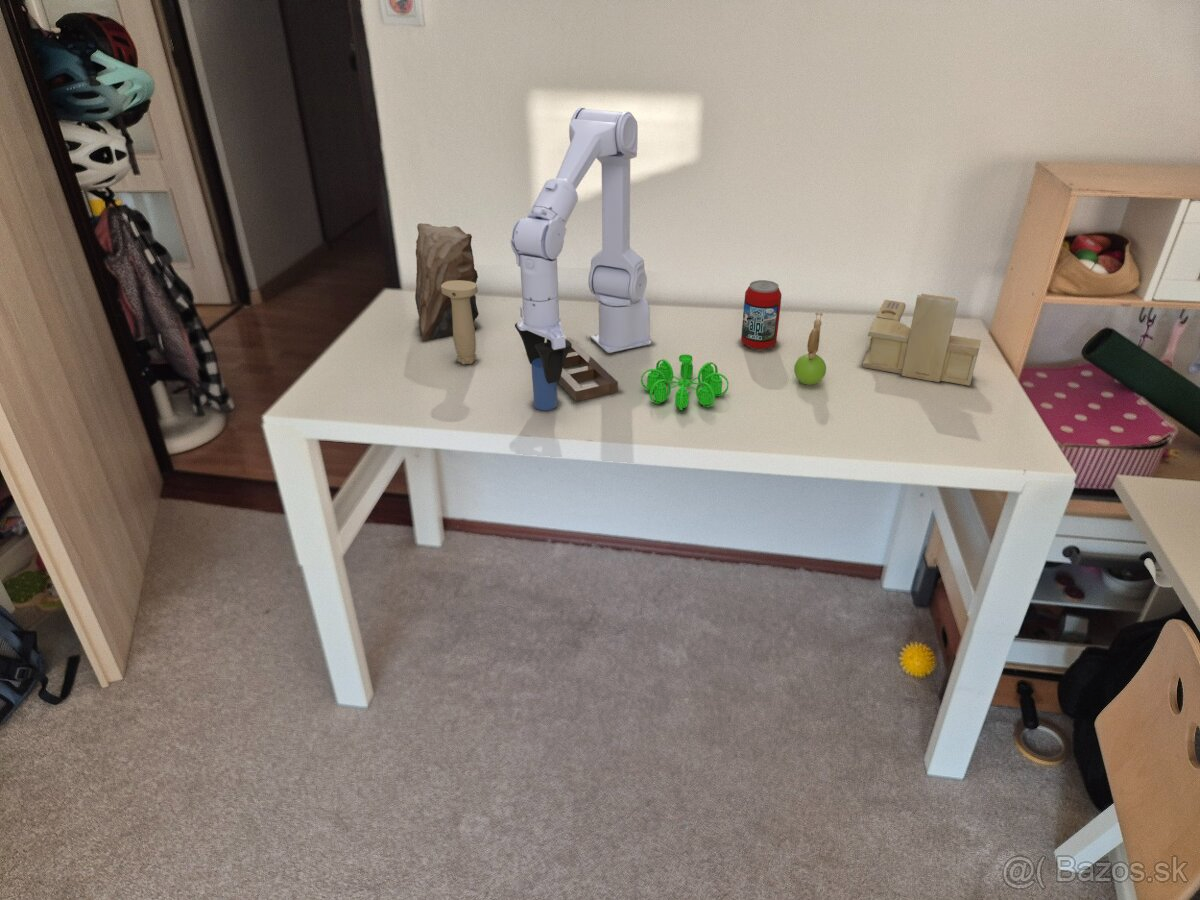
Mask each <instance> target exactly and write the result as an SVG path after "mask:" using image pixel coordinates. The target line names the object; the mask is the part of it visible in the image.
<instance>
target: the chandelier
mask: <svg viewBox="0 0 1200 900" xmlns="http://www.w3.org/2000/svg"><path fill="white" fill-rule="evenodd" d="M678 361H679V362H680V363H681V364H680V373H679V374H680V377H681V379H680V378H678V377H677V376H675V375H674V370H673V367H672V365H671V363H670V362H669V361H668V360H667V359H663V358H662V359H660V360H658V361H657V362H656V365H655V368H650V369H646V370H645V371H643V373H642V375H641V378H640V382H641V386H642V387H643V389H644V390H645V391H647V392H649V399H650V401H651V402H653V404H662V403H663V402H665V401H666V400H667V399H668V398H669V396H670V394H671V391H672V389H673V388H676V387H679V388H678V389H676V393H675V396H674V397H675V401H674V404H675V406H676V407H677V408H679V411H684V408H687V407H688V406H689V399H690V395H689V391H688V389H686V388H689V387H690V388H692V389H693V390H695V395H696V398H697V400H698V403H699V404H700V405H702V406H703V407H705V408H711V407H712V406H713V405H714V404H715V402H716V397H721V396H722V395H724V394H726V392H728V389H729V380H728V378H727V377H726V376H725V375H724V374H722V373H719V369H718V366H717V364H715V363H714V362H711V361H710V362H705V363H704V364H703V365H702V366H701V368H700V369H699V371H698V374H697V377H694V378H692V377H693V376H694V373H693V372H694V364H693V355H690V354H685V353H684V354H680V355H679V356H678ZM712 365H713V366H712ZM646 374H647V376H646V377H647V378H646V385H645V384H644V380H643V378H644V376H645V375H646ZM673 379H676V380H678V381H676V380H673ZM723 379H724V380H725V382H726V388H725V389H724V391H723ZM695 380H697V381H698V382H692V381H695ZM671 383H674V385H671ZM692 385H697V386H696V387H694V386H692Z"/></svg>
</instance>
